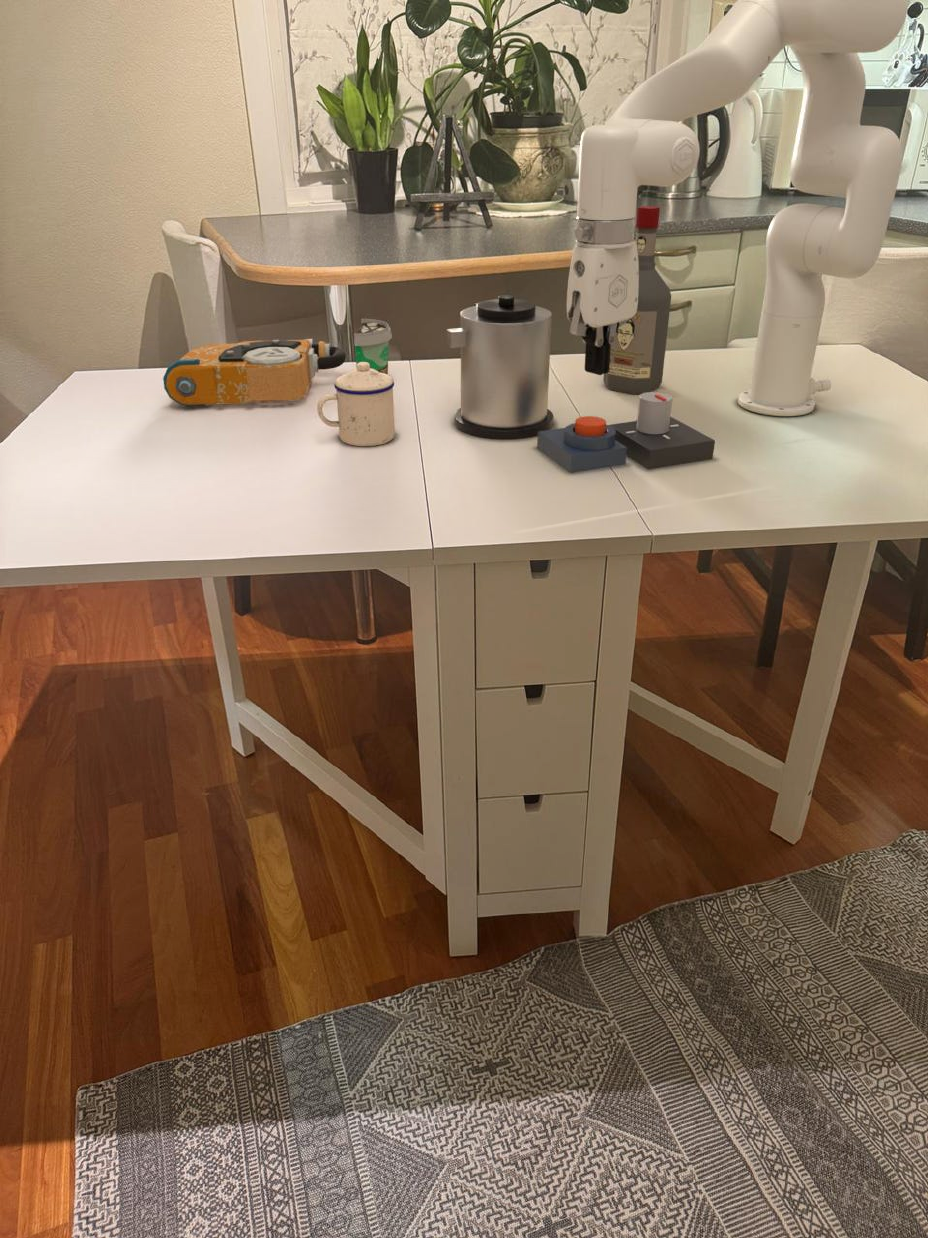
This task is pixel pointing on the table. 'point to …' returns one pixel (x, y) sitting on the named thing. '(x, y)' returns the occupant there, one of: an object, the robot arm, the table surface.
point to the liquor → (642, 320)
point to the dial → (654, 413)
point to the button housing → (581, 449)
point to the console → (664, 445)
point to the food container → (373, 344)
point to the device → (249, 371)
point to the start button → (590, 426)
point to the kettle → (503, 369)
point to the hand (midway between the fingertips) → (596, 371)
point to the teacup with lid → (363, 407)
